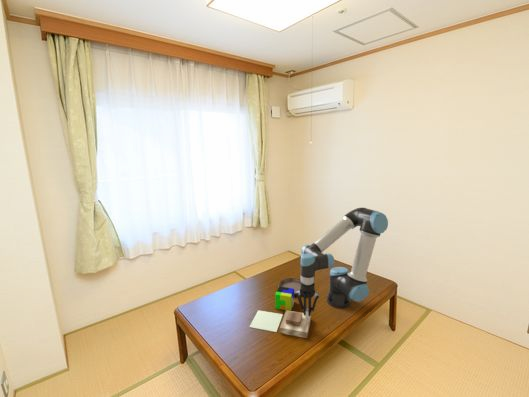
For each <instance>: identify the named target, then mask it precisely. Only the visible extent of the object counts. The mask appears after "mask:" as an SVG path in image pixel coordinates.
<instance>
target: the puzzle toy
mask: <svg viewBox="0 0 529 397" xmlns="http://www.w3.org/2000/svg"><path fill="white" fill-rule="evenodd" d="M274 302H275V303H274V304H275V305H274V306H275V307H274V308H275V309H276V310H282V311H286V310H287V311H292V309H293V307H294V304H295V295H294V289H293V288H287V287H280V286H278V288H277V291H276V292H275V294H274Z"/></svg>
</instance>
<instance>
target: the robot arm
mask: <svg viewBox="0 0 529 397" xmlns="http://www.w3.org/2000/svg"><path fill="white" fill-rule="evenodd" d="M388 225H389V219H388V218H387V215H386V214H385V213H383V212H380V211H378V210H373V209H369V208H366V207H358V208H354V209H352V210H350V211H348V212H347V213H346V214H344V215H343V216H342V219H341V220H340V221H339V222H337V223H336V224H335V225H334V226H332V227H331V228H330V229H328V230H327V231H326V232H325V233H324V234H322V235H321V236H320V237H318V239H316V240H315V241H314V242H313V243H311V244H310V245H309V244H306V245H303V246H302V248H301V251H300V252H301V256H300V279H301V289H300V291H297V292H296V295H295V296H296V297H297V300H298V305H299V308H300V309H301V310H303V313H304V315H305V316H306V322H308V321H309V316H311V317H312V312H314V311H315V307H316V303H317V301H318V299H319V298H320V293H317V292H316V290H315V286H316V284H315V274H316V271H320V270H326V269H329V268H331V267H332V268H331V269H330V272H329V290H328V292H327V296H326V302H327V304H328V305H329V306H331V307H333V308H337V309H345V308H348V307H350V305H351V304H352V303H351V300H353V301H354V302H358V303H359V302H362V301H363V300H365V299H366V298H367V297H368V296H369V293H370V287H369V286H368V279H367V274H368V269H369V265H370V263H371V260H372V254H373V251H374V249H375V246H376V240H377V238H379V237H380V236H381V234H383V233H385V231H387V229H388ZM357 227H359V232H360V237H359V241H358V245H357V248H356V251H355V255H354V258H353V263H352V266H351V269H348V267H343V266H336V267H334V266H335V257H334V256H333V254H331V253H323V252H325V251H326V250H327V249H328V248H329V247H331V246H332V244H334V243H335V242H337V240H339V239H341V238H342V236H344V235H345V234H347V233H348V231H351V230H354V229H355V228H357ZM349 270H350V271H349ZM302 297H303V299H302ZM313 297H314V300H313V303H312V298H313ZM307 301H308V303H307ZM307 304H308V305H307ZM307 307H308V308H307Z"/></svg>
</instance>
